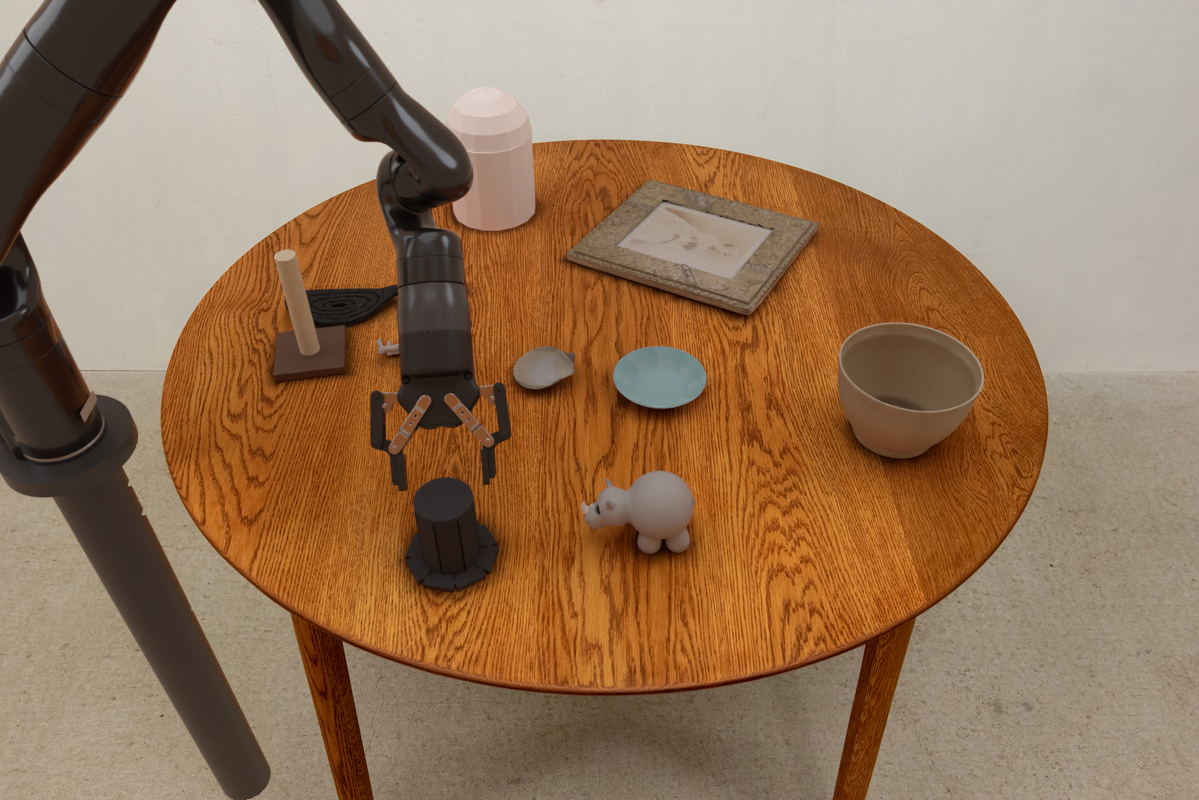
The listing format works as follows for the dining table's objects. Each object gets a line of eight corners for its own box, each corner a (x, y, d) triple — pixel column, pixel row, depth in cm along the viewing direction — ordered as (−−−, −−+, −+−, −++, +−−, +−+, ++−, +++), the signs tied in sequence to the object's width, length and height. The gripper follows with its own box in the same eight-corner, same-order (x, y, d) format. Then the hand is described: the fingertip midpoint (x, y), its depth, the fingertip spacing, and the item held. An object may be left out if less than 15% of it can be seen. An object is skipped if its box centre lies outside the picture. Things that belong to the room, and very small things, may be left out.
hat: (407, 599, 97) (395, 543, 91) (404, 526, 104) (392, 470, 98) (503, 584, 98) (497, 528, 92) (493, 513, 106) (487, 457, 99)
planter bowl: (966, 407, 119) (990, 339, 111) (950, 496, 107) (976, 427, 100) (838, 375, 123) (853, 308, 116) (811, 458, 112) (826, 389, 105)
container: (450, 191, 158) (437, 75, 144) (530, 184, 160) (524, 69, 146) (456, 234, 148) (442, 114, 135) (541, 226, 150) (535, 106, 136)
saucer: (697, 427, 116) (698, 413, 114) (603, 412, 118) (603, 398, 116) (711, 366, 124) (712, 353, 123) (623, 353, 126) (624, 340, 125)
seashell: (522, 368, 127) (509, 396, 120) (518, 347, 125) (505, 374, 118) (582, 364, 125) (573, 392, 118) (579, 343, 124) (569, 370, 117)
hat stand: (274, 382, 122) (243, 280, 111) (279, 339, 129) (249, 239, 118) (345, 373, 123) (321, 271, 113) (346, 331, 130) (323, 231, 119)
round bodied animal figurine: (581, 509, 106) (580, 456, 100) (688, 509, 106) (693, 456, 100) (581, 561, 101) (580, 508, 95) (693, 560, 101) (699, 507, 95)
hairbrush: (469, 291, 132) (283, 311, 126) (470, 312, 134) (288, 334, 129) (460, 259, 138) (282, 277, 132) (461, 280, 140) (286, 299, 135)
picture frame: (648, 186, 160) (648, 172, 158) (818, 231, 148) (820, 216, 146) (565, 263, 143) (565, 249, 141) (751, 321, 131) (752, 306, 129)
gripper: (358, 331, 94) (369, 495, 93) (502, 322, 95) (514, 483, 94) (371, 340, 101) (381, 491, 100) (504, 331, 102) (515, 481, 101)
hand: (445, 487), depth 97 cm, fingers open, 8 cm apart
